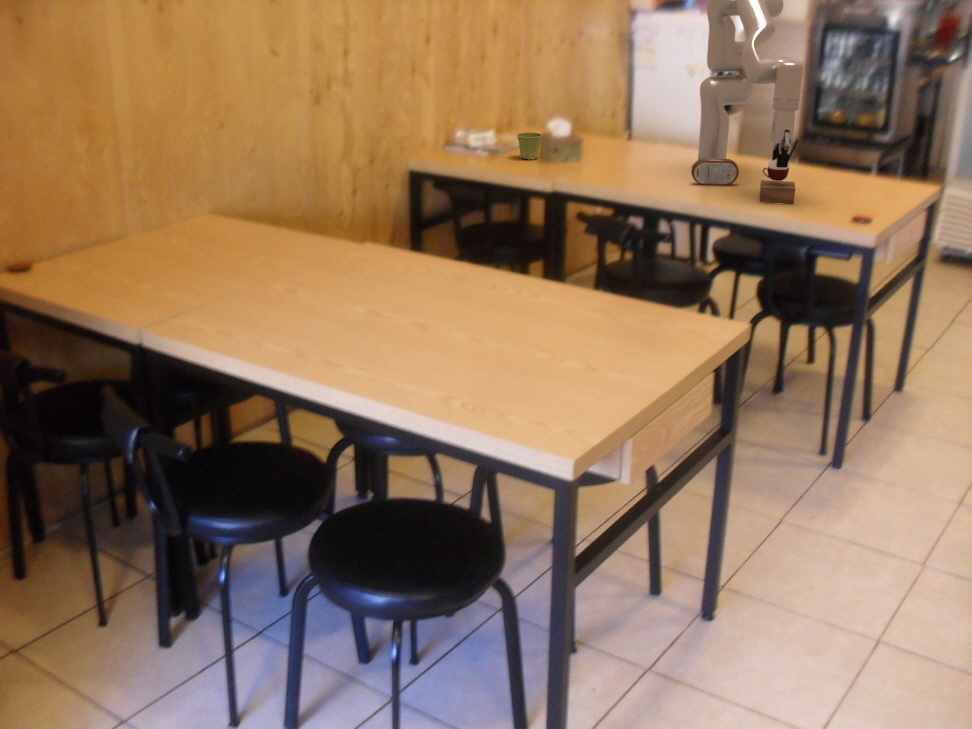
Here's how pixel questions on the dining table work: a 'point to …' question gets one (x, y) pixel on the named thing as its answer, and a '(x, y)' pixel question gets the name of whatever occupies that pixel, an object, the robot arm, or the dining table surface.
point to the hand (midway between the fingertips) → (779, 164)
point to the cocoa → (779, 168)
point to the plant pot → (529, 144)
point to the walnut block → (777, 192)
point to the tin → (715, 171)
